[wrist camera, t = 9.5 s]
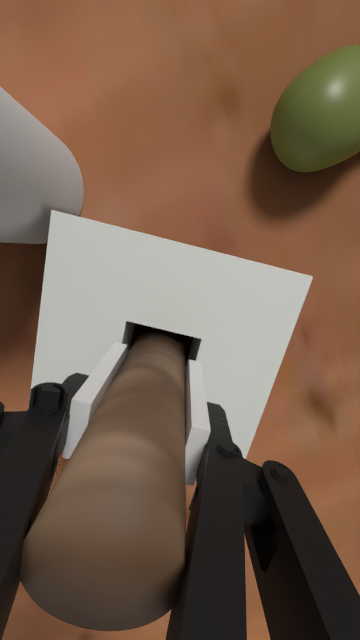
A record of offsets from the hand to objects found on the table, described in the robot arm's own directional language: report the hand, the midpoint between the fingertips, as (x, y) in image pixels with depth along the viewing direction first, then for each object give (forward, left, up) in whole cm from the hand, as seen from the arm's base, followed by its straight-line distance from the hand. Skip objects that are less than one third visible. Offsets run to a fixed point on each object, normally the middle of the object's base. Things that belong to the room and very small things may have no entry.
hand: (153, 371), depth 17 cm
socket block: (0, 0, -6) cm, 6 cm away
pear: (+8, +18, -6) cm, 21 cm away
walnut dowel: (0, 0, -3) cm, 3 cm away
